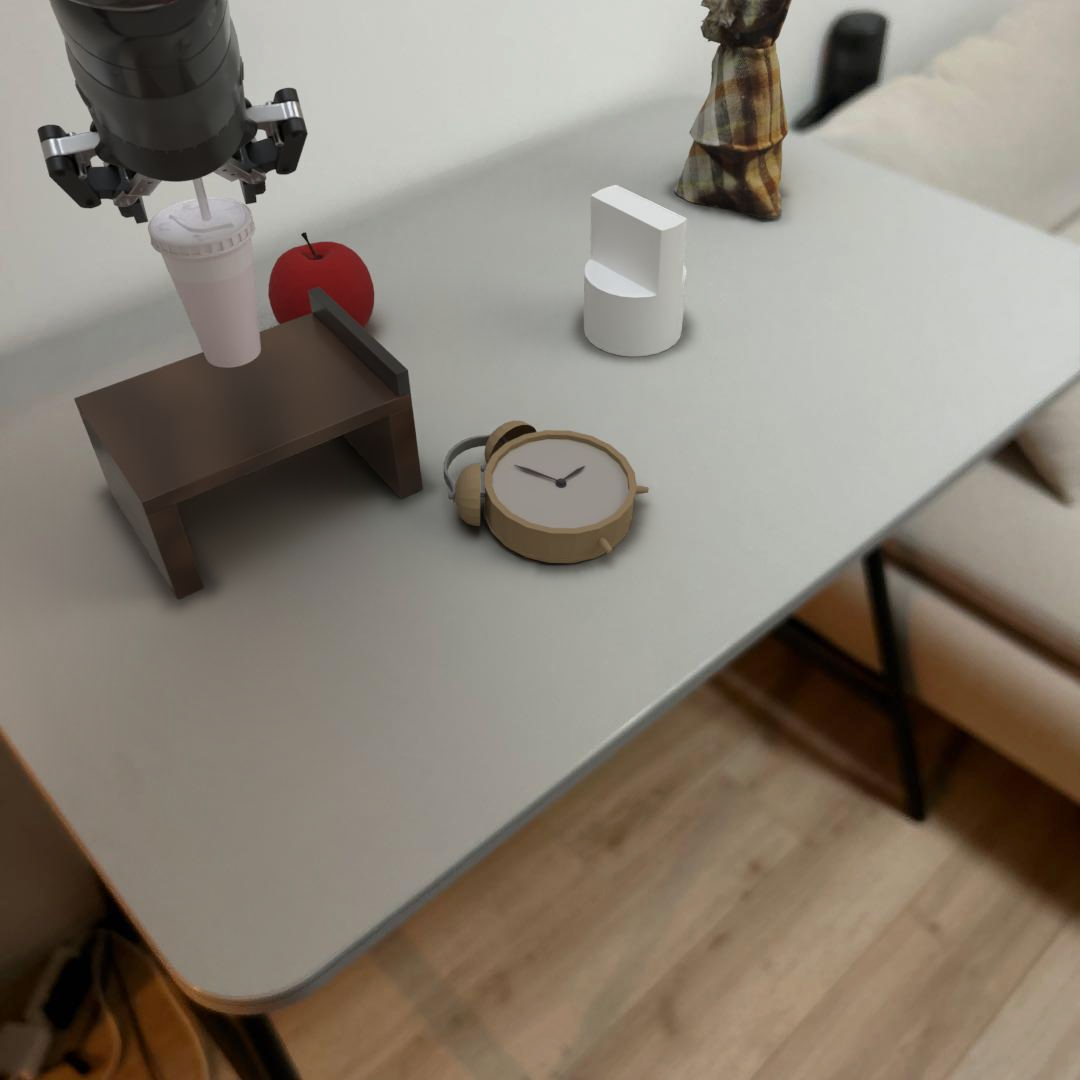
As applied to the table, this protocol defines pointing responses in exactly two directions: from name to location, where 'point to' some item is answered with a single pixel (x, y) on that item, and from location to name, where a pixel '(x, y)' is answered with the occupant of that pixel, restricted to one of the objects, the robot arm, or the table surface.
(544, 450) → the alarm clock
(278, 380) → the shelf
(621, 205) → the cylinder with rectangular tab
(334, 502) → the table surface
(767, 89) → the plaid figurine
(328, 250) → the apple
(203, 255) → the smoothie
